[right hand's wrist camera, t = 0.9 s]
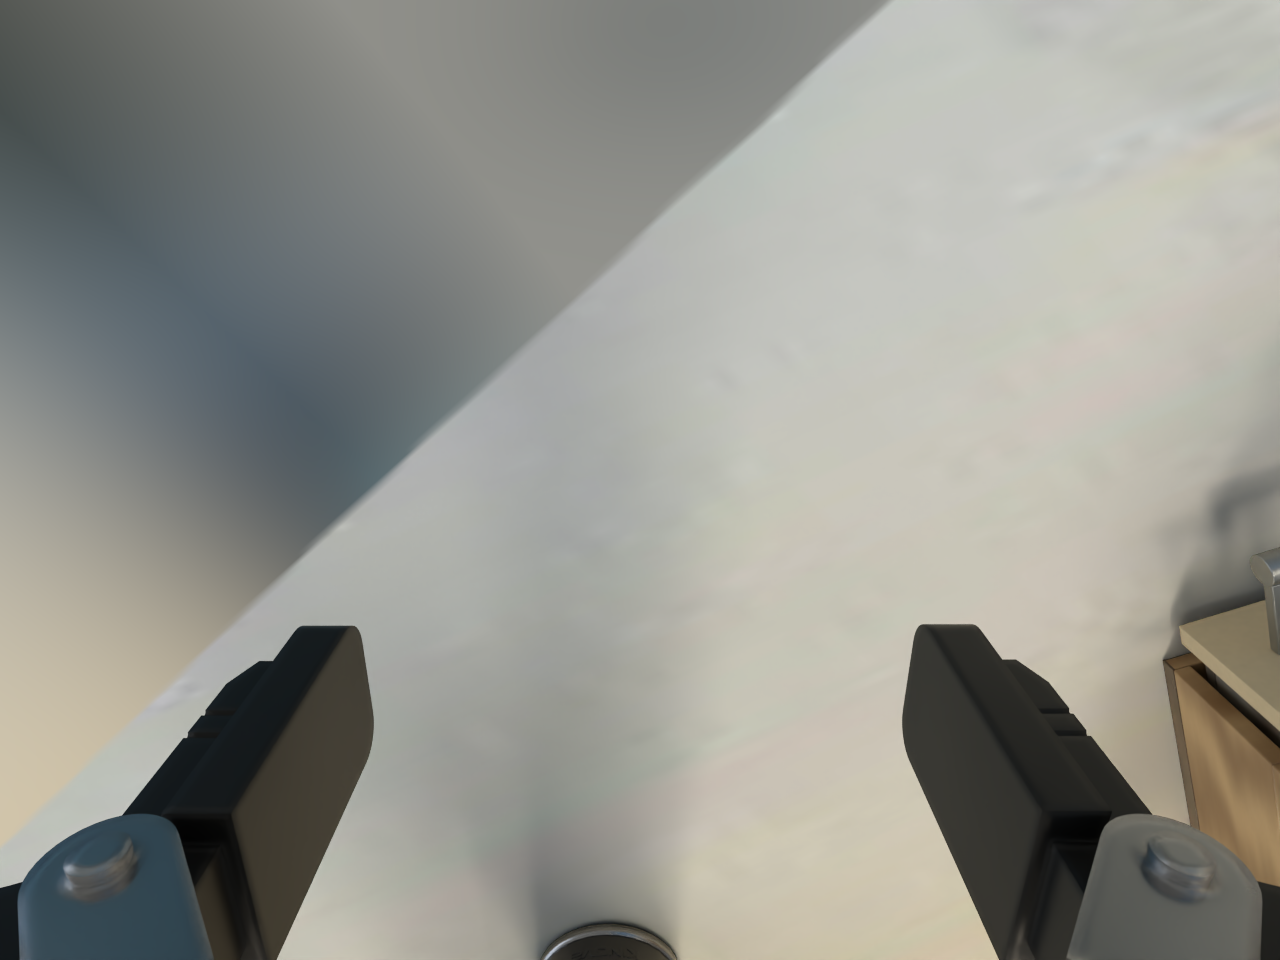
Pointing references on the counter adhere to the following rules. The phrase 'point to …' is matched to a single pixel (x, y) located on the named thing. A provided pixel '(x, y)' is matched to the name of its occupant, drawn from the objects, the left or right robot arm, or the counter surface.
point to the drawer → (1245, 650)
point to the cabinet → (1226, 769)
